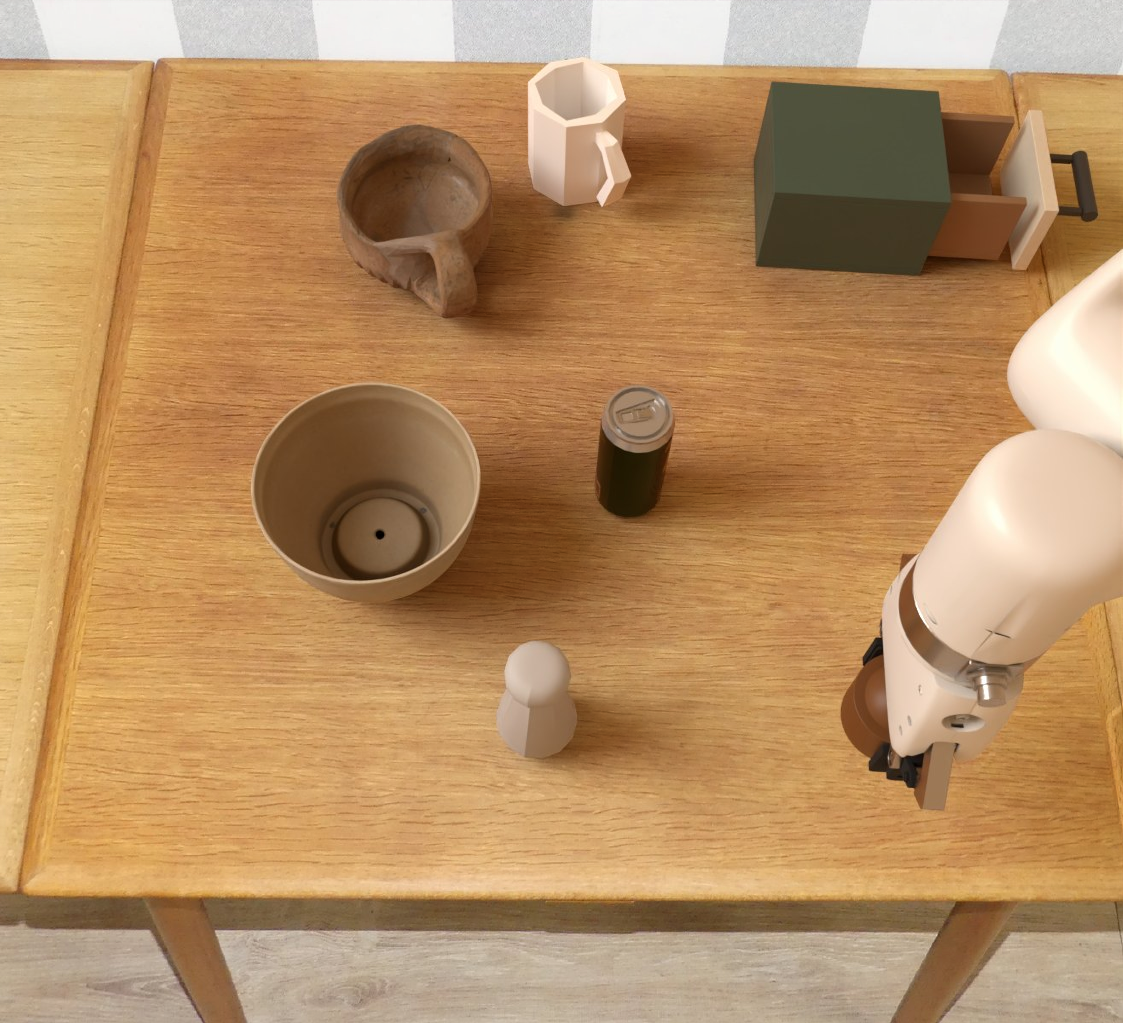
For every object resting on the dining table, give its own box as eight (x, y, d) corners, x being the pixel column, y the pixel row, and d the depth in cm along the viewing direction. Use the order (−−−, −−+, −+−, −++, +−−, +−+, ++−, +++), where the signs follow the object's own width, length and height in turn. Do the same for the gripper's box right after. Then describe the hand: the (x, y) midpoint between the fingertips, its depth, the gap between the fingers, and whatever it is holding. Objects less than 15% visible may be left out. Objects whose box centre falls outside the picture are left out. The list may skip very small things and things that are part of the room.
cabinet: (908, 169, 115) (939, 91, 106) (919, 276, 109) (952, 202, 101) (753, 159, 115) (771, 81, 106) (755, 266, 109) (774, 192, 101)
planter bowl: (298, 664, 91) (271, 607, 81) (263, 480, 98) (234, 408, 88) (507, 612, 93) (505, 551, 84) (459, 436, 100) (451, 361, 91)
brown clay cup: (569, 274, 107) (544, 214, 97) (442, 373, 106) (405, 323, 97) (455, 146, 113) (422, 78, 103) (335, 239, 112) (290, 180, 103)
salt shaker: (481, 717, 90) (474, 655, 78) (545, 675, 91) (547, 608, 80) (526, 782, 87) (526, 728, 76) (591, 738, 89) (600, 678, 77)
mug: (511, 161, 114) (509, 80, 105) (588, 125, 116) (592, 43, 108) (581, 247, 110) (585, 170, 101) (659, 208, 112) (670, 129, 103)
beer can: (603, 528, 97) (612, 452, 86) (587, 470, 99) (593, 389, 89) (668, 514, 98) (685, 438, 87) (650, 457, 100) (665, 376, 89)
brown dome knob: (931, 675, 79) (955, 646, 74) (939, 766, 76) (964, 743, 71) (838, 670, 79) (855, 641, 74) (842, 761, 76) (861, 737, 72)
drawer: (1062, 175, 114) (1096, 113, 107) (1078, 273, 108) (1116, 214, 102) (866, 164, 114) (888, 101, 107) (873, 261, 109) (897, 201, 102)
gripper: (1076, 782, 57) (961, 858, 73) (1033, 460, 65) (938, 592, 81) (915, 773, 57) (836, 850, 73) (891, 452, 65) (824, 586, 81)
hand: (890, 714), depth 77 cm, fingers closed on brown dome knob, 6 cm apart
